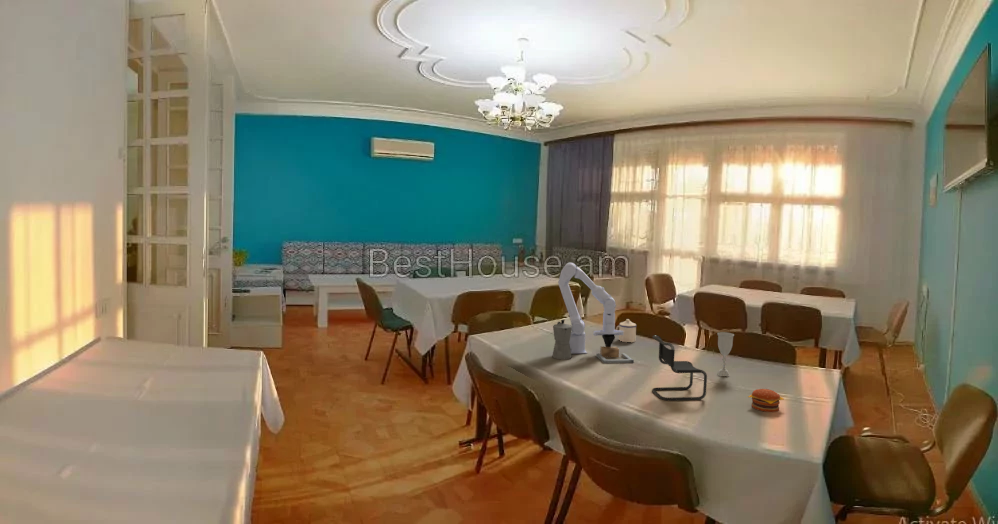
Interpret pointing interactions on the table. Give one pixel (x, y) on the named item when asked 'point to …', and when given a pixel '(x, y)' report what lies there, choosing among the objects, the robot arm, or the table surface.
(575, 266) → the robot arm
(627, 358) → the grey u-shaped bracket
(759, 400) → the hamburger
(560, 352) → the coffeepot
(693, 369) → the chair
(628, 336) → the teacup with lid
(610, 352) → the walnut block
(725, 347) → the chalice
